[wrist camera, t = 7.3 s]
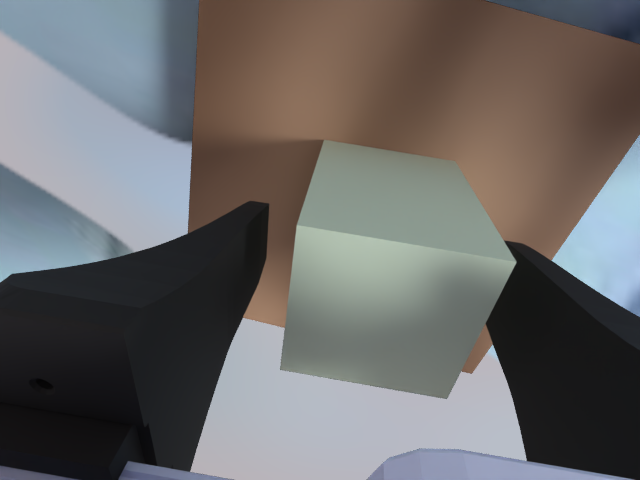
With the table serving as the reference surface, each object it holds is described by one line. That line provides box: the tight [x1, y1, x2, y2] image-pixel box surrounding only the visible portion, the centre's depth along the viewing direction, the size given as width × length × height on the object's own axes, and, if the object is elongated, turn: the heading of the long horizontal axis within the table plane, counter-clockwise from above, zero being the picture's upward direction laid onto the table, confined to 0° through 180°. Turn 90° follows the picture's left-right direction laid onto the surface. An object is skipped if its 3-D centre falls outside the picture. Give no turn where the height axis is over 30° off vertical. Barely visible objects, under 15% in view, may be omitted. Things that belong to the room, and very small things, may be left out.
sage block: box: [280, 140, 516, 399], centre depth 11 cm, size 4×4×6 cm
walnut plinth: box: [188, 0, 640, 374], centre depth 15 cm, size 14×14×2 cm
